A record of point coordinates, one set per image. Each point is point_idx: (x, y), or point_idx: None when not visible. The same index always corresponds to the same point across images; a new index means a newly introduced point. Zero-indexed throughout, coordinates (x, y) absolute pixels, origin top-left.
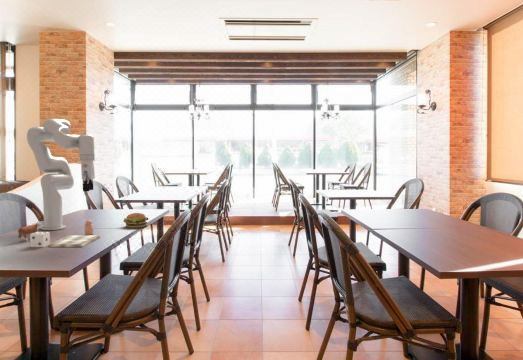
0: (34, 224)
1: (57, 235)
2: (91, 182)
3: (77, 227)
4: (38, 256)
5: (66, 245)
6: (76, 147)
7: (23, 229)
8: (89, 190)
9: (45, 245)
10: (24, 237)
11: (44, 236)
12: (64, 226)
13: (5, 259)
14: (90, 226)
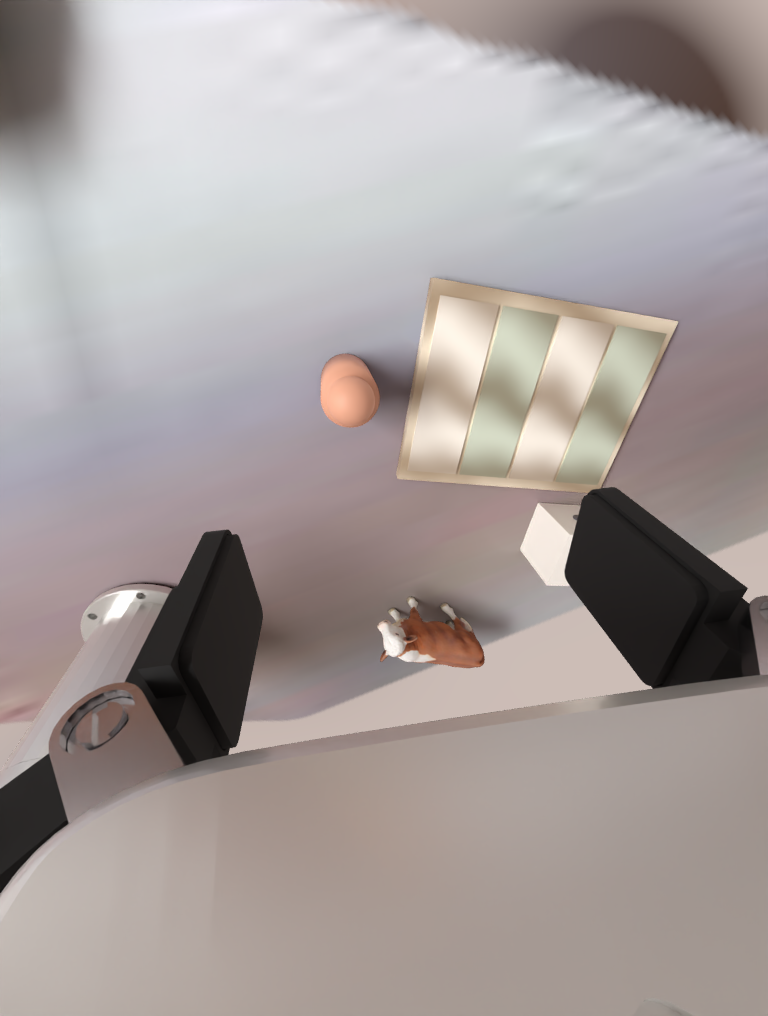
0: (416, 652)
1: (340, 544)
2: (169, 699)
3: (91, 529)
4: (748, 460)
5: (634, 410)
6: None
7: (480, 651)
8: (619, 490)
9: (574, 506)
10: (463, 622)
11: None
12: (136, 589)
13: (727, 545)
14: (371, 376)
